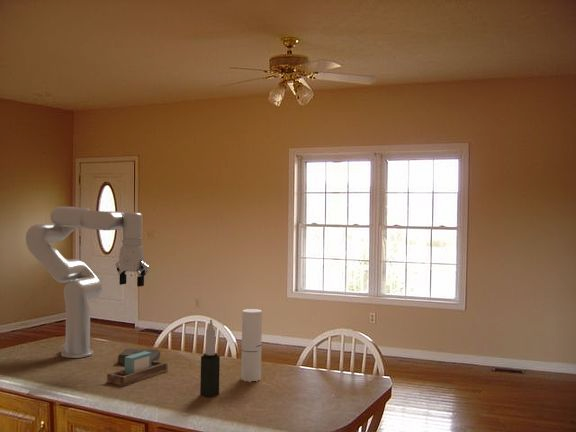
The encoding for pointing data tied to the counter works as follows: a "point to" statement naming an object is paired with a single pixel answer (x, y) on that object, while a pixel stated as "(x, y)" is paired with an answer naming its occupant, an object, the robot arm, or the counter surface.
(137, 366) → the teal block
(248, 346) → the cylindrical container
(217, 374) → the marker pen
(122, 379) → the wooden compartment tray
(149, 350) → the marble piece
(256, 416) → the counter surface
